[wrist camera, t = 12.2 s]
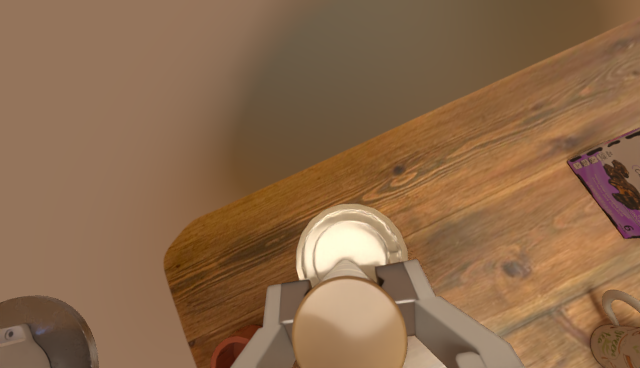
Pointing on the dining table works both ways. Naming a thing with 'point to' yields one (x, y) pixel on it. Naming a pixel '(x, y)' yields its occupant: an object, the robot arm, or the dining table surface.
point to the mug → (617, 336)
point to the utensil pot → (232, 347)
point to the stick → (349, 323)
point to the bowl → (348, 242)
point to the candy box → (614, 179)
